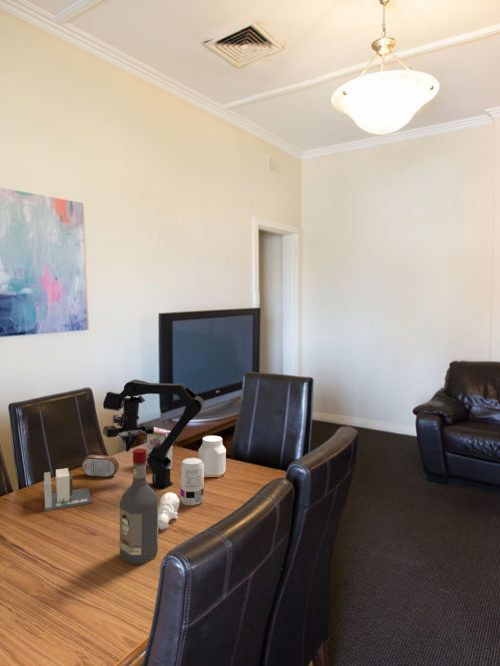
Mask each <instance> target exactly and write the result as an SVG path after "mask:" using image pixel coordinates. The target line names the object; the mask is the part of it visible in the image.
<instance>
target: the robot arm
mask: <svg viewBox="0 0 500 666" xmlns="http://www.w3.org/2000/svg"><path fill="white" fill-rule="evenodd" d="M143 395H177V397H178V398H179V400H181V401H180V402H182V404H183V405H184V406H185V407H184V409H183V411H182V414H181V416H180V418H179V419H178V421H177V422H176V423H175V425H174V426H173V427H172V429H171V430H170V431H171V432H170V433H169V434H168V436H167V437H166V439H165V440H164V441H163V443H162V444H161V445H160V444H159V443H157V444H156V445H155V446H154V447H153V449H152V451H151V452H150V453H149V454H148V456H149V457H148V459H147V458H146V463H147V462H148V465H149V466H150V470H151V472H152V475H151V476H152V477H151V478H152V479H151V481H152V482H151V483H150V485H149V486H150V487H151V488H152V487H153V488H157V489H158V490H159V489H160V490H164V489H166V488H168V487H170V486H172V485H173V484H174V482H173V481H171V469H169V467H170V465H171V462H172V463H173V460H172V461H171V460H170V459H169V458H168V457H167V455H168V453H169V450H170V448H171V446H172V445H173V444H174V443H175V442H176V441H177V439H178V437H179V436H180V435H182V432H183V431H184V429H185V428H186V427H187V426H188V424H189V423H190V422H191V421H192V419H194V418H195V417H196V416H198V414H200V412H201V411H202V410H203V408H204V406H205V400H204V399H203V398H202V397H201V396H198V395H197V394H196V393H195V392H194V391H192V390H191V389H190V388H188V387H187V385H186V384H185V383H182V382H181V383H162V382H157V383H156V382H149V381H148V382H147V381H144V380H141V379H136V378H135V379H132V380H130V381H128V382H126V383H125V384H124V387H123V390H122V391H121V392H120V393H117V392H113V391H107V392H106V395H105V397H104V401H103V402H102V403H103V404H102V405H103V409H104V410H110V411H116V412H120V411H121V410H123V412H121V416H120V415H119V414H113V415H112V423H113V424H116V426H115V425H106V426H104V427H103V429H102V434H103V435H104V436H105V437H106V438H116V437H117V436H119V437H120V438H121V440H122V442H123V447H124V451H125V452H128V453H129V452H130V450H131V448H132V446H133V445H134V443H135V442H136V441H137V439H138V438H140V437H141V436H140V433H139V432H144V433H145V435H147V434H153V433H154V427H155V426H153V425H151V424H150V423H149V422H147V423H140V424H139V426H138V420H139V419H140V416H139V408H140V404H143V403H145V401H146V400H145V398H144V397H143ZM117 426H118V427H117ZM173 446H174V445H173ZM149 466H148V467H149Z"/></svg>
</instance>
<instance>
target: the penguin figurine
mask: <svg viewBox="0 0 500 666" xmlns="http://www.w3.org/2000/svg"><path fill="white" fill-rule="evenodd" d="M180 503H181V501H180V499H179V497H178V495H177V494H176V493H175V492H171V491H170V492H169V491H168V492H166V493H164V494H163V495H162V497H161V498H160V500H159V506H158V529H159V530H161V531H164V530H165V529H168V528H169V527H170V526H171V524H169V522H170V521H171V520H172V519H173V520H175V519H177V518H178V515H179V513H178V509H179V507H180ZM178 519H179V518H178ZM178 519H177V520H178Z"/></svg>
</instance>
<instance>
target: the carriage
mask: <svg viewBox="0 0 500 666" xmlns="http://www.w3.org/2000/svg"><path fill="white" fill-rule="evenodd" d="M72 490H73V475H72V472H71V471H69V468H68V467H65V468H58V469H55V493H56V498H57V503H60V502H63V503H64V502H66V501H69V496H70V495H72Z"/></svg>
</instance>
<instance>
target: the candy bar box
mask: <svg viewBox="0 0 500 666" xmlns="http://www.w3.org/2000/svg"><path fill="white" fill-rule="evenodd" d="M153 427H154V433H153V434H146V460H147V459H148V457H149V456H148V454H149V453H150V452H151V451H152V449H153V447H154V446H155V445H156V444H157V443H159V444H160V445H161V444H162V443H163V441H164V440H165V439H166V437H167V436H168V434H169V433H170V432H171V430H169V429H164V428H160V427H155V426H153ZM173 446H174V445H172V446H171V448H170V450H169V453H168V455H167V457H168V458H169V459H170V460H171V461H172V462H171V465H170V467H169V470H171V469H173V449H174V448H173ZM146 467H150V466H149V465H148V462H147V461H146ZM150 468H151V467H150Z"/></svg>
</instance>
